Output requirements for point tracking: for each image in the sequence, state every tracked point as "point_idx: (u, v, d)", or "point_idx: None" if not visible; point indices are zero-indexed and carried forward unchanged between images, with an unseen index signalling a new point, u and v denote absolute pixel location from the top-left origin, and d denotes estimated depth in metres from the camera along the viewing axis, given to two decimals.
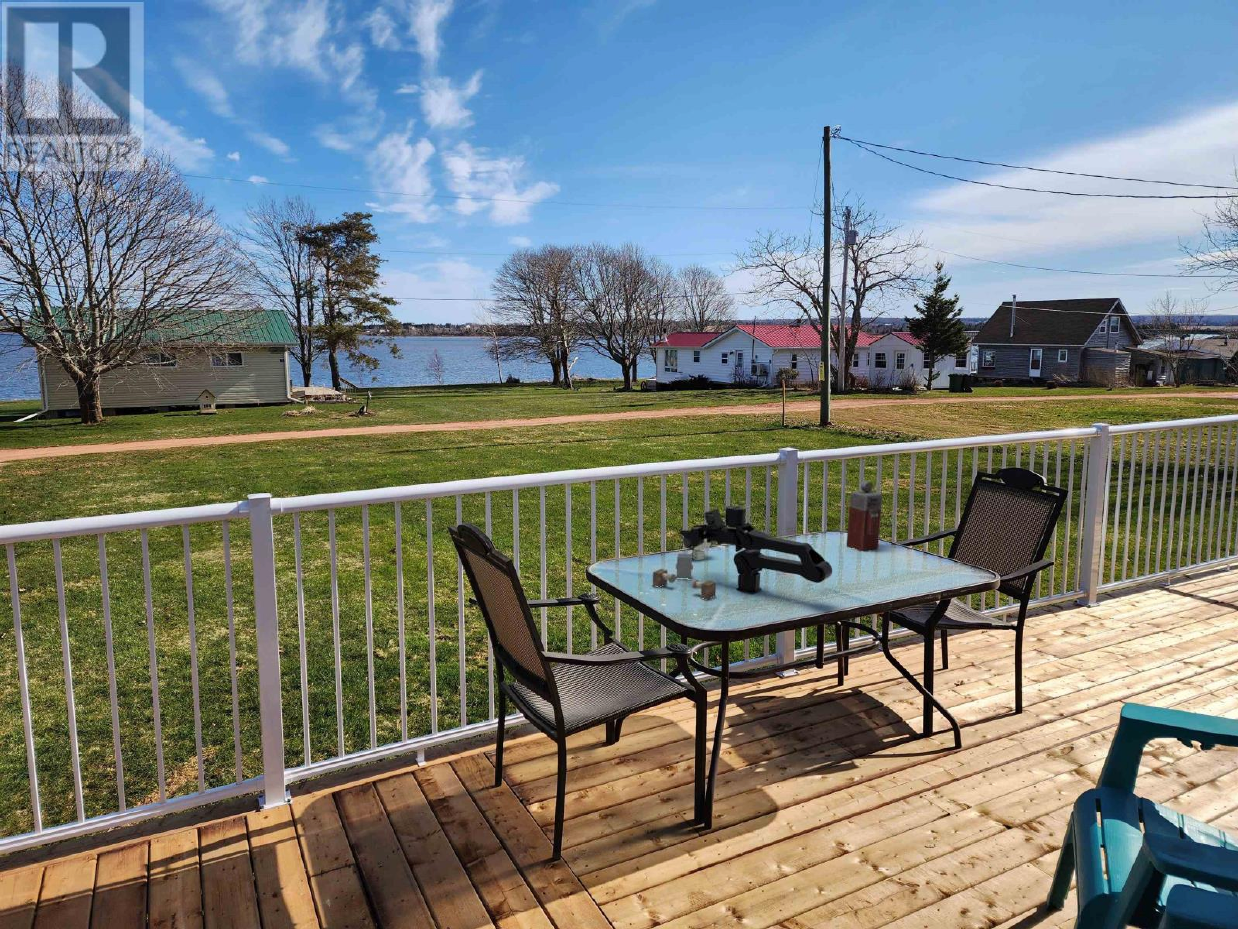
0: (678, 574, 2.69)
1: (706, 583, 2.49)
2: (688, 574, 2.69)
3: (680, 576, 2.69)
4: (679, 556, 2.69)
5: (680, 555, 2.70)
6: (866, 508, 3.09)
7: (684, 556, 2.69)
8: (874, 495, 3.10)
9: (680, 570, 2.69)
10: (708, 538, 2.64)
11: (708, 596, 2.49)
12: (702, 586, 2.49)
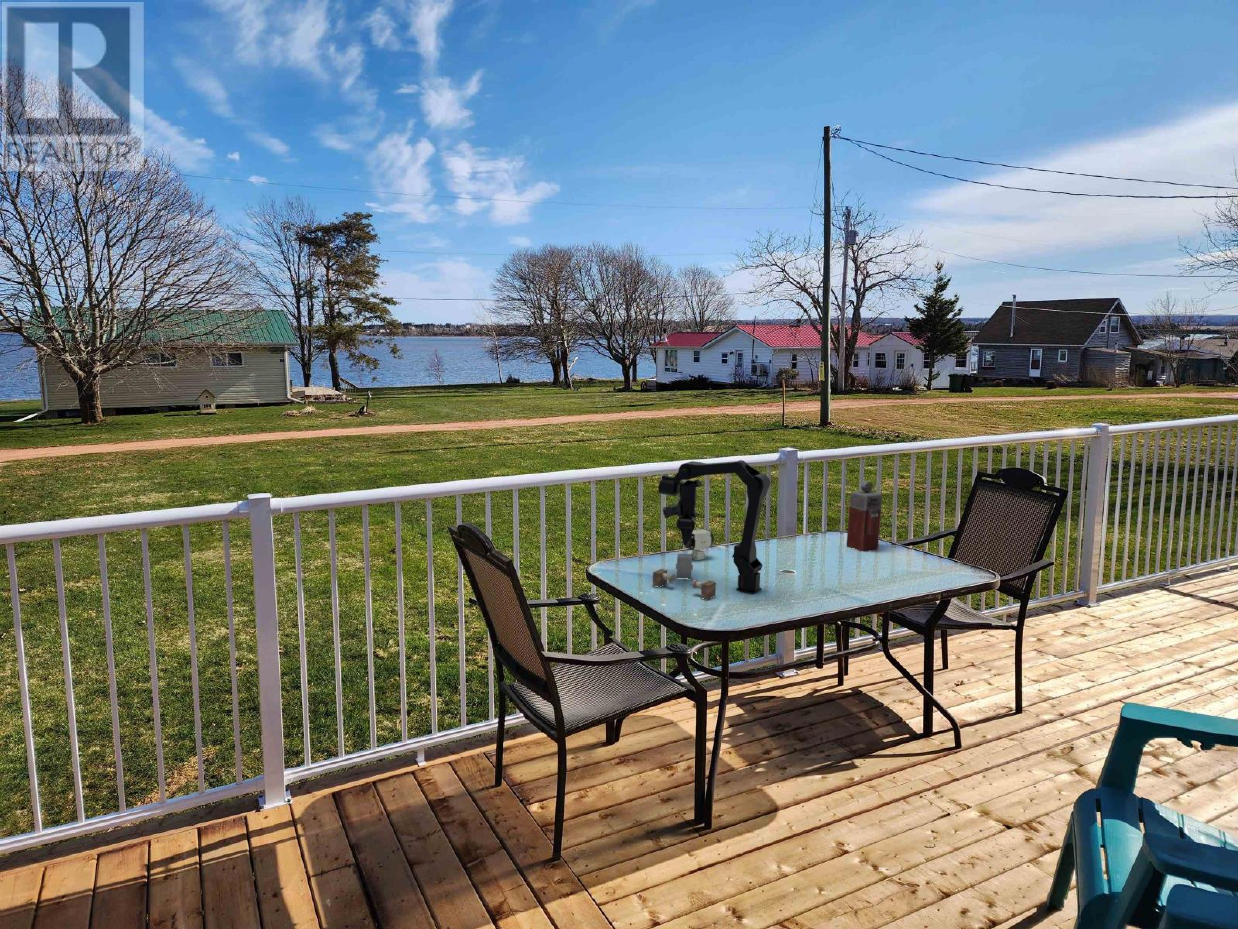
0: (678, 574, 2.69)
1: (706, 583, 2.49)
2: (688, 574, 2.69)
3: (680, 576, 2.69)
4: (679, 556, 2.69)
5: (680, 555, 2.70)
6: (866, 508, 3.09)
7: (684, 556, 2.69)
8: (874, 495, 3.10)
9: (680, 570, 2.69)
10: (690, 514, 2.65)
11: (708, 596, 2.49)
12: (702, 586, 2.49)
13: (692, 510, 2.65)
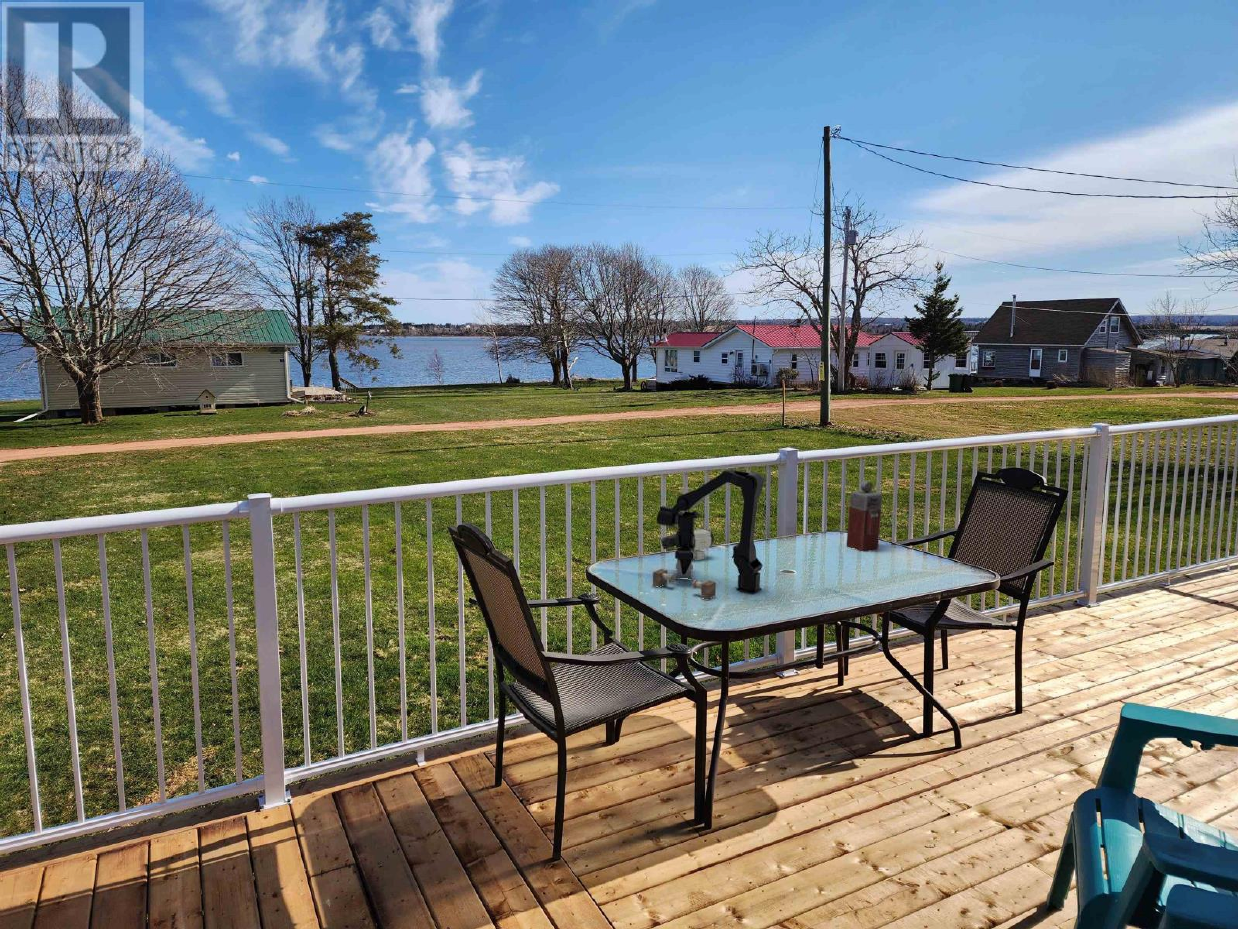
0: (678, 574, 2.69)
1: (706, 583, 2.49)
2: (688, 574, 2.69)
3: (680, 576, 2.69)
4: None
5: None
6: (866, 508, 3.09)
7: None
8: (874, 495, 3.10)
9: (680, 570, 2.69)
10: (688, 545, 2.67)
11: (708, 596, 2.49)
12: (702, 586, 2.49)
13: (690, 541, 2.67)
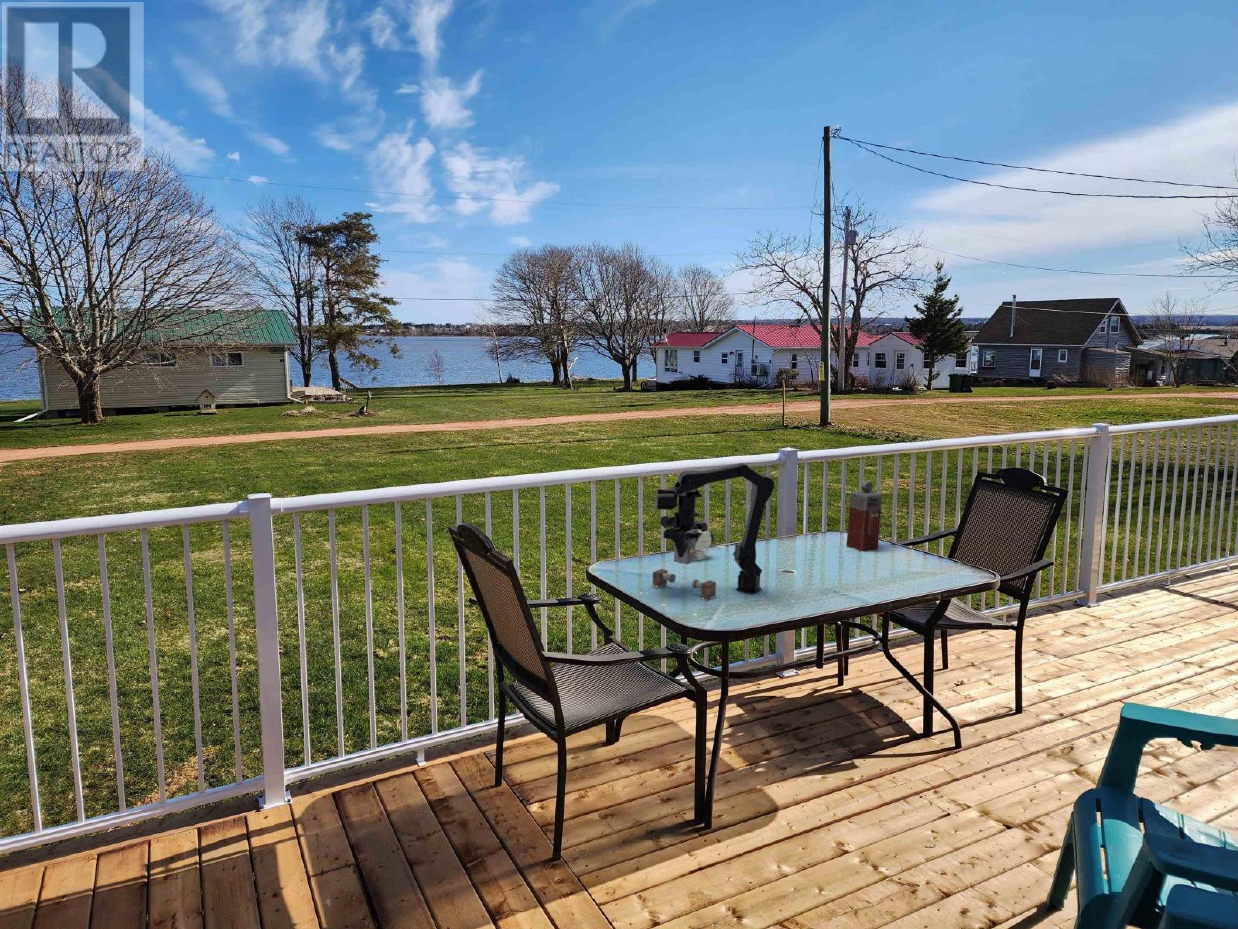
0: (675, 556, 2.55)
1: (706, 583, 2.49)
2: (684, 557, 2.53)
3: (677, 559, 2.55)
4: None
5: None
6: (866, 508, 3.09)
7: None
8: (874, 495, 3.10)
9: (677, 552, 2.54)
10: (685, 527, 2.51)
11: (708, 596, 2.49)
12: (702, 586, 2.49)
13: (687, 523, 2.51)
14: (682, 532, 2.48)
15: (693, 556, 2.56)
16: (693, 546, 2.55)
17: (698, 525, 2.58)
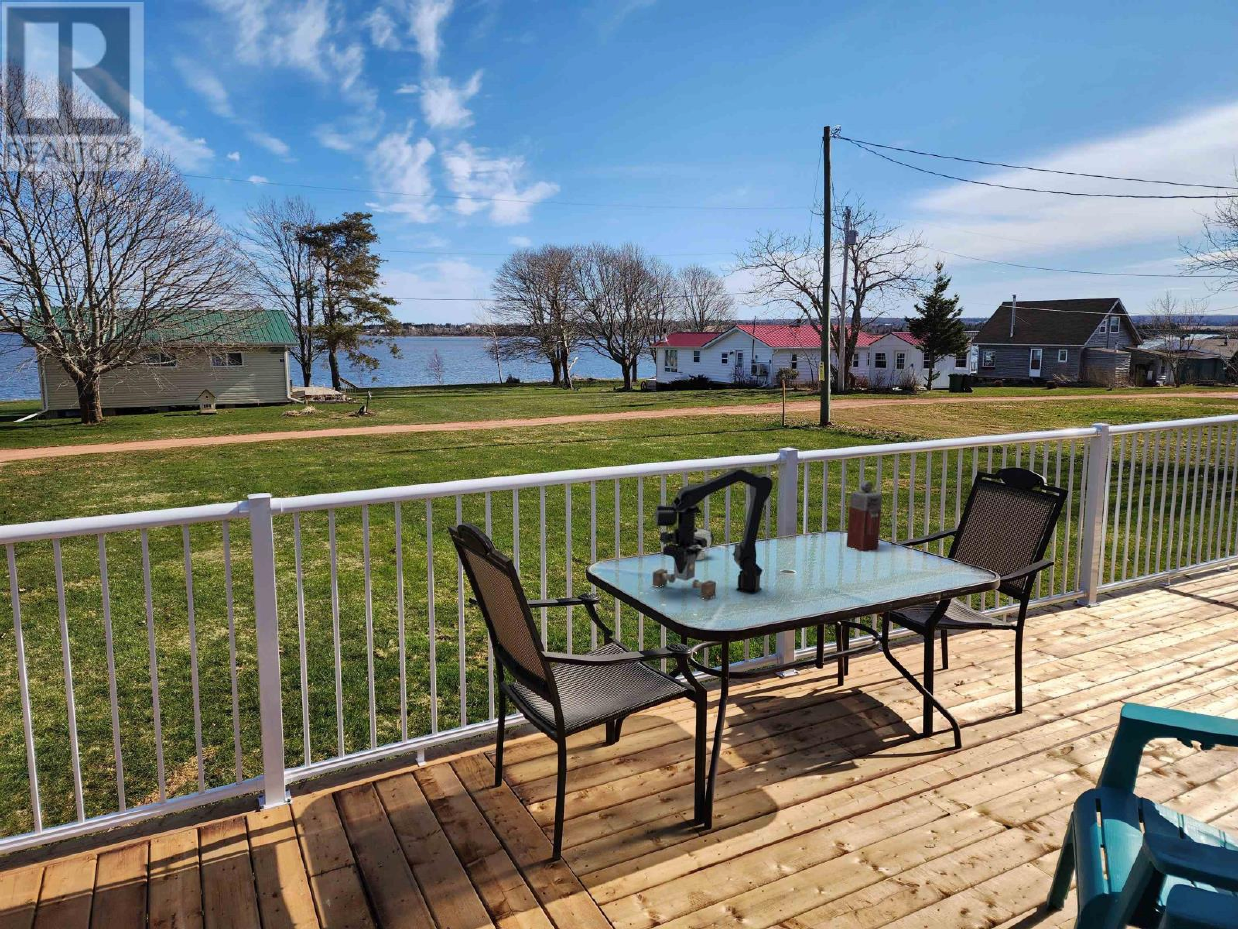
0: (675, 572, 2.55)
1: (706, 583, 2.49)
2: (684, 573, 2.53)
3: (677, 575, 2.54)
4: None
5: None
6: (866, 508, 3.09)
7: None
8: (874, 495, 3.10)
9: None
10: (684, 543, 2.51)
11: (708, 596, 2.49)
12: (702, 586, 2.49)
13: (687, 539, 2.51)
14: (681, 548, 2.47)
15: (693, 572, 2.55)
16: (693, 562, 2.55)
17: (698, 541, 2.57)
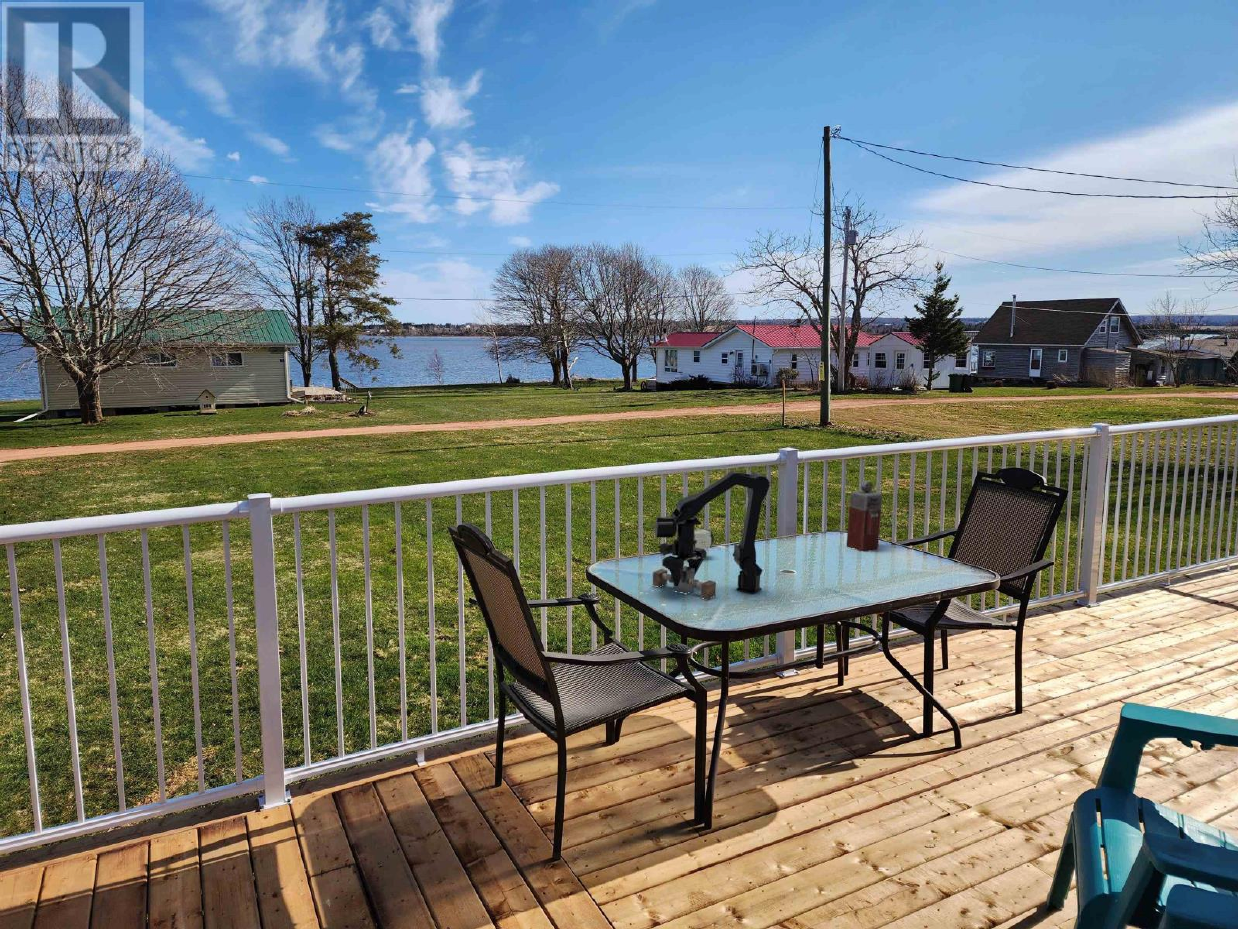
0: (674, 586, 2.55)
1: (706, 583, 2.49)
2: (683, 588, 2.53)
3: (676, 589, 2.55)
4: None
5: None
6: (866, 508, 3.09)
7: None
8: (874, 495, 3.10)
9: None
10: (684, 555, 2.52)
11: (708, 596, 2.49)
12: (702, 586, 2.49)
13: (686, 550, 2.51)
14: (681, 560, 2.48)
15: None
16: (692, 576, 2.55)
17: (697, 552, 2.58)
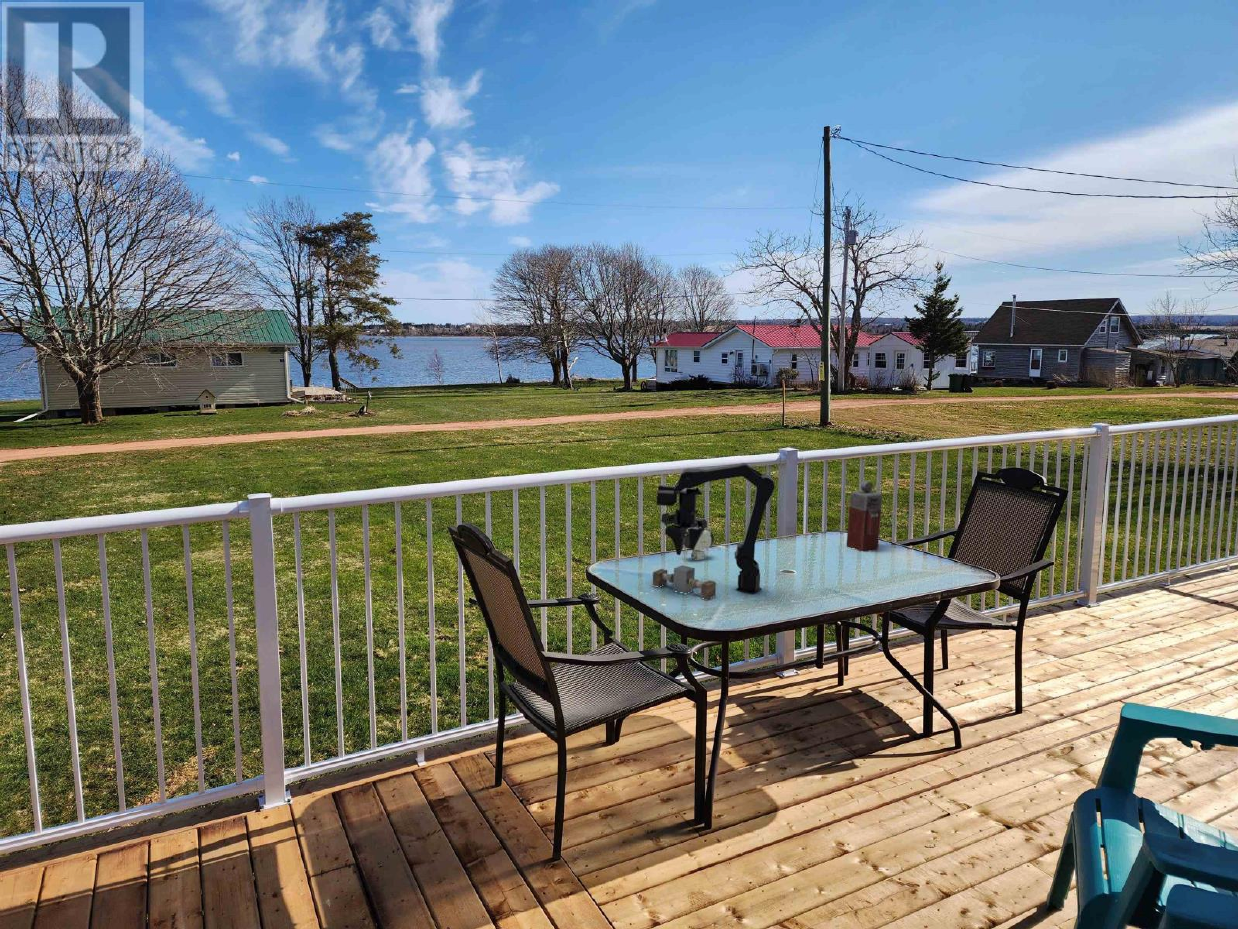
0: (674, 586, 2.55)
1: (706, 583, 2.49)
2: (683, 588, 2.53)
3: (676, 589, 2.55)
4: (677, 568, 2.55)
5: (679, 567, 2.56)
6: (866, 508, 3.09)
7: (682, 569, 2.54)
8: (874, 495, 3.10)
9: (676, 583, 2.55)
10: (686, 524, 2.56)
11: (708, 596, 2.49)
12: (702, 586, 2.49)
13: (688, 520, 2.56)
14: (683, 529, 2.52)
15: None
16: (692, 576, 2.55)
17: (698, 522, 2.62)
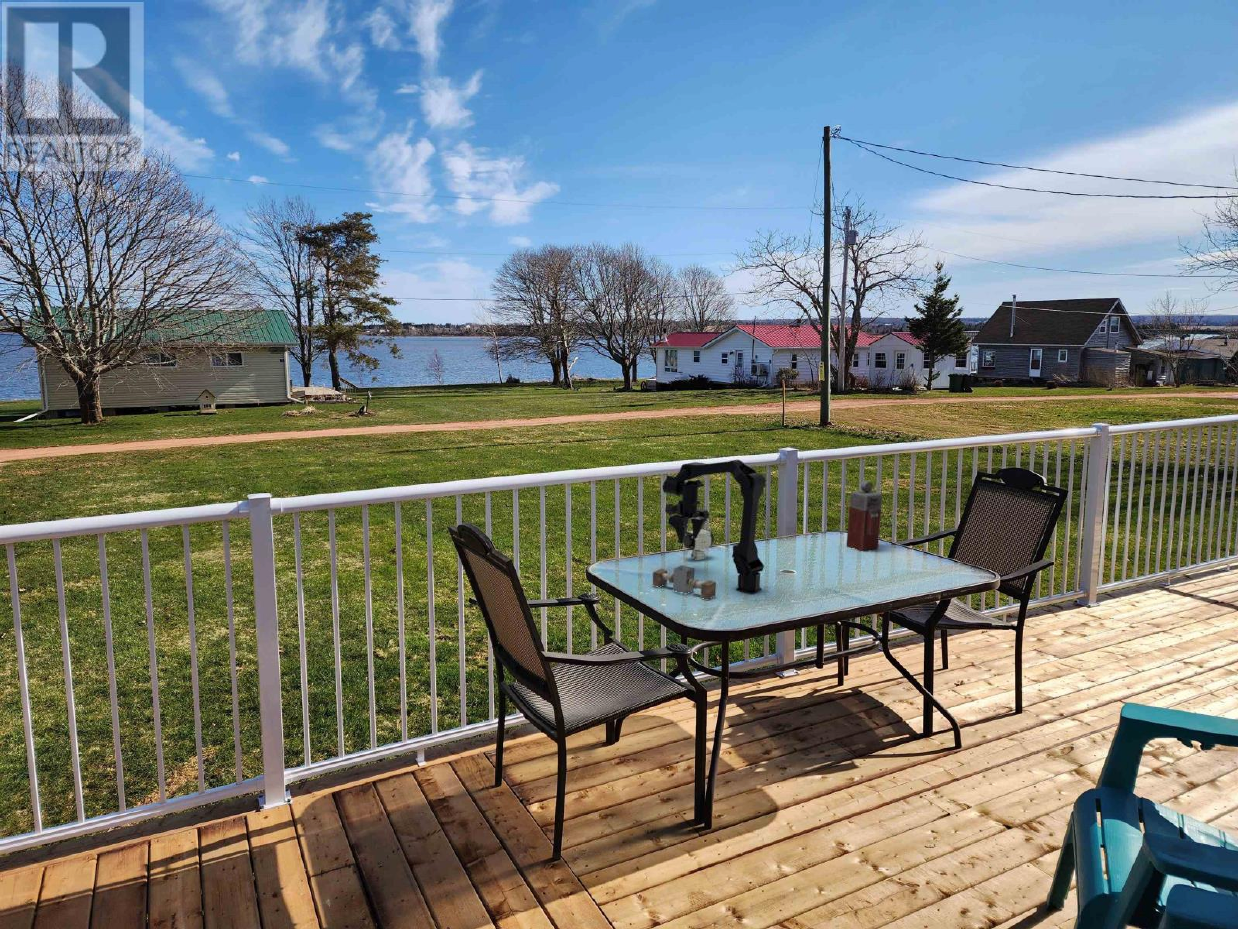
0: (674, 586, 2.55)
1: (706, 583, 2.49)
2: (683, 588, 2.53)
3: (676, 589, 2.55)
4: (677, 568, 2.55)
5: (679, 567, 2.56)
6: (866, 508, 3.09)
7: (682, 569, 2.54)
8: (874, 495, 3.10)
9: (676, 583, 2.55)
10: (688, 514, 2.70)
11: (708, 596, 2.49)
12: (702, 586, 2.49)
13: (690, 510, 2.70)
14: (685, 518, 2.67)
15: None
16: (692, 576, 2.55)
17: (700, 512, 2.77)
